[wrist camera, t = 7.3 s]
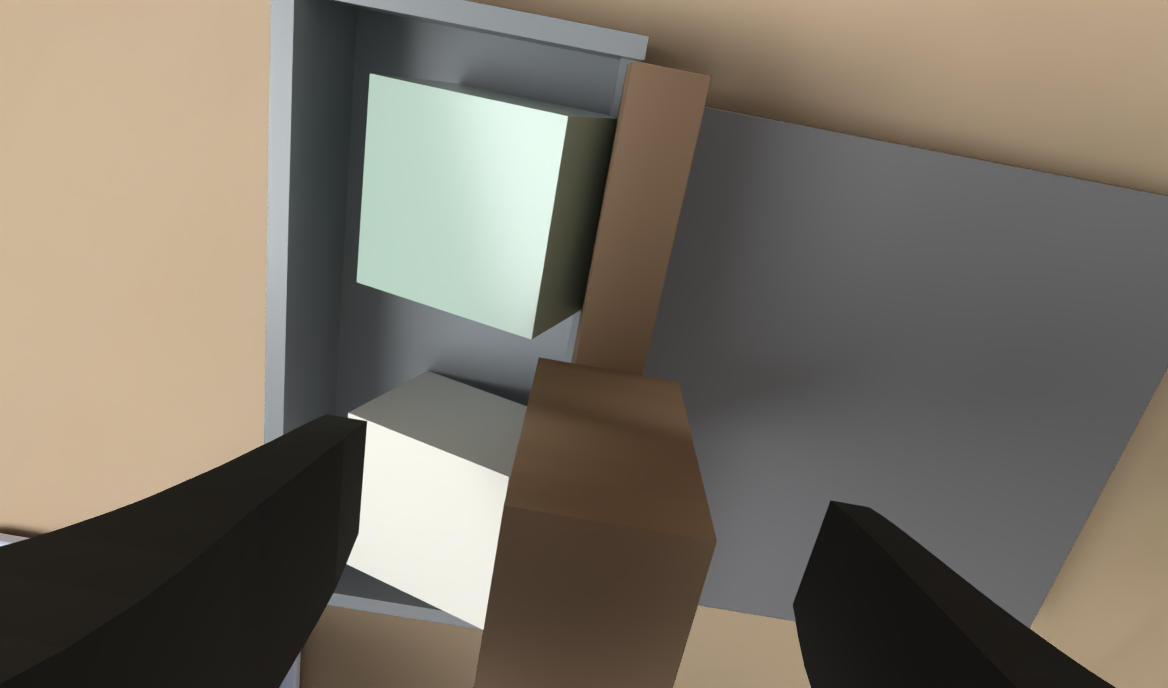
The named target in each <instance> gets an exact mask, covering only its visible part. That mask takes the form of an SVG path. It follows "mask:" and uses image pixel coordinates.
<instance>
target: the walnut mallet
mask: <svg viewBox="0 0 1168 688" xmlns="http://www.w3.org/2000/svg"><path fill="white" fill-rule="evenodd" d="M711 77H712V76H710V75H705V74H700V73H695V72H689V71H684V70H679V69H674V68H669V67H664V66H659V65H654V64H648V63H643V62H638V61H632V62H630V63H628V64H627V68H626V74H625V79H624V84H623V90H622V95H621V100H620V106H619V111H618V116H617V121H616V127H615V132H614V137H613V143H612V148H611V153H610V159H609V164H608V169H607V175H606V180H605V185H604V190H603V196H602V201H601V206H600V212H599V217H598V222H597V228H596V233H595V238H594V243H593V249H592V254H591V259H590V265H589V270H588V275H587V281H586V286H585V291H584V297H583V302H582V307H581V312H580V318H579V323H578V328H577V334H576V339H575V344H574V350H573V355H572V360H571V363H569V362H563V361H558V360H552V359H546V358H541V357H539V359H538V363H537V367H536V371H535V375H534V380H533V384H532V388H531V392H530V397H529V401H528V405H527V409H526V413H525V418H524V422H523V426H522V430H521V435H520V439H519V443H518V447H517V451H516V456H515V460H514V464H513V468H512V473H511V477H510V481H509V485H508V489H507V494H506V498H505V502H504V507H503V513H502V519H501V525H500V531H499V537H498V544H497V550H496V556H495V562H494V568H493V574H492V580H491V586H490V592H489V599H488V605H487V611H486V617H485V623H484V629H483V635H482V641H481V648H480V654H479V660H478V666H477V672H476V678H475V684H474V688H673V685H674V682H675V679H676V675H677V672H678V669H679V666H680V662H681V659H682V656H683V652H684V649H685V646H686V642H687V639H688V636H689V632H690V629H691V626H692V623H693V619H694V616H695V613H696V609H697V606H698V603H699V599H700V596H701V593H702V590H703V586H704V583H705V580H706V576H707V573H708V570H709V566H710V563H711V560H712V556H713V553H714V550H715V547H716V543H717V539H716V535H715V531H714V527H713V523H712V518H711V514H710V510H709V506H708V502H707V498H706V493H705V489H704V485H703V481H702V477H701V473H700V469H699V464H698V460H697V456H696V452H695V448H694V444H693V440H692V435H691V431H690V427H689V423H688V419H687V415H686V411H685V406H684V402H683V398H682V394H681V390H680V386H679V382H676V381H670V380H664V379H659V378H653V377H648V376H643V371H644V367H645V363H646V358H647V354H648V350H649V345H650V341H651V337H652V332H653V328H654V324H655V319H656V315H657V311H658V306H659V302H660V298H661V293H662V289H663V285H664V280H665V276H666V272H667V267H668V263H669V259H670V254H671V250H672V246H673V241H674V237H675V233H676V228H677V224H678V220H679V215H680V211H681V207H682V202H683V198H684V194H685V189H686V185H687V181H688V176H689V172H690V168H691V163H692V159H693V155H694V150H695V146H696V142H697V137H698V133H699V129H700V124H701V120H702V116H703V111H704V107H705V103H706V98H707V94H708V90H709V85H710V81H711Z"/></svg>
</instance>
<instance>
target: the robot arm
mask: <svg viewBox="0 0 1168 688" xmlns="http://www.w3.org/2000/svg"><path fill="white" fill-rule="evenodd" d="M366 430H367V421H364V420H358V419H352V418H346V417H340V416H334V415H329V414H326V415H324V416H322V417H319V418H317V419H315V420H312V421H310V422H308V423H306V424H304V425H302V426H300V427H298V428H296V429H294V430H292V431H290V432H288V433H286V434H284V435H282V436H280V437H278V438H276V439H274V440H272V441H270V442H268V443H266V444H264V445H262V446H260V447H258V448H256V449H254V450H252V451H250V452H248V453H246V454H244V455H242V456H240V457H238V458H236V459H233V460H231V461H229V462H227V463H225V464H223V465H221V466H219V467H217V468H214V469H212V470H210V471H208V472H205V473H203V474H201V475H198V476H196V477H194V478H192V479H189V480H187V481H185V482H182V483H180V484H178V485H176V486H173V487H171V488H169V489H166V490H164V491H162V492H160V493H157V494H155V495H153V496H150V497H148V498H145V499H143V500H140V501H138V502H135V503H133V504H130V505H127V506H125V507H122V508H119V509H117V510H114V511H111V512H109V513H106V514H103V515H100V516H97V517H94V518H91V519H88V520H85V521H82V522H80V523H77V524H74V525H71V526H68V527H65V528H62V529H59V530H56V531H53V532H49V533H46V534H43V535H39V536H36V537H32V538H27V537H21V536H15V535H8V534H2V533H0V688H299V682H300V658H301V649H302V648H303V646H304V644H305V642H306V641H307V639H308V637H309V636H310V634H311V632H312V630H313V629H314V627H315V625H316V623H317V622H318V620H319V618H320V616H321V615H322V613H323V611H324V609H325V607H326V606H327V604H328V602H329V600H330V599H331V597H332V595H333V593H334V591H335V589H336V587H337V585H338V582H339V580H340V578H341V575H342V573H343V571H344V568H345V566H346V563H347V561H348V558H349V556H350V554H351V551H352V549H353V546H354V544H355V541H356V539H357V536H358V534H359V523H360V510H361V496H362V483H363V470H364V457H365V444H366ZM793 610H794V615H795V621H796V626H797V632H798V638H799V642H800V647H801V652H802V657H803V661H804V666H805V669H806V672H807V675H808V679H809V682H810V685H811V688H1115V687H1114V686H1112V685H1111V684H1109V683H1108V682H1106V681H1104V680H1103V679H1101V678H1100V677H1098V676H1097V675H1095V674H1094V673H1092V672H1090V671H1089V670H1088V669H1086V668H1085V667H1083V666H1082V665H1080V664H1079V663H1077V662H1076V661H1074V660H1073V659H1071V658H1070V657H1068V656H1067V655H1066V654H1064V653H1063V652H1061V651H1060V650H1058V649H1057V648H1056V647H1054V646H1053V645H1052V644H1050V643H1049V642H1047V641H1046V640H1045V639H1043V638H1042V637H1040V636H1039V635H1038V634H1036V633H1035V632H1034V631H1032V630H1031V629H1029V628H1028V627H1027V626H1025V625H1024V624H1022V623H1021V622H1020V621H1018V620H1017V619H1016V618H1014V617H1013V616H1012V615H1010V614H1009V613H1008V612H1006V611H1005V610H1004V609H1002V608H1001V607H1000V606H998V605H997V604H996V603H994V602H993V601H992V600H991V599H989V598H988V597H987V596H985V595H984V594H983V593H981V592H980V591H979V590H978V589H976V588H975V587H974V586H973V585H971V584H970V583H969V582H967V581H966V580H965V579H964V578H962V577H961V576H960V575H959V574H957V573H956V572H955V571H953V570H952V569H951V568H950V567H948V566H947V565H946V564H945V563H943V562H942V561H941V560H940V559H938V558H937V557H936V556H935V555H933V554H932V553H931V552H930V551H928V550H927V549H926V548H924V547H923V546H922V545H921V544H919V543H918V542H917V541H916V540H914V539H913V538H912V537H910V536H909V535H908V534H907V533H905V532H904V531H903V530H901V529H900V528H899V527H897V526H896V525H895V524H893V523H892V522H891V521H889V520H888V519H886V518H885V517H884V516H882V515H881V514H879V513H878V512H876V511H874V510H873V509H871V508H870V507H866V506H860V505H854V504H848V503H843V502H837V501H831V500H830V503H829V506H828V508H827V511H826V514H825V517H824V520H823V522H822V525H821V528H820V531H819V533H818V536H817V539H816V542H815V544H814V547H813V550H812V553H811V555H810V558H809V561H808V564H807V566H806V569H805V572H804V575H803V577H802V580H801V583H800V586H799V588H798V591H797V594H796V597H795V599H794V602H793Z"/></svg>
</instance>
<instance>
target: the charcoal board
mask: <svg viewBox="0 0 1168 688" xmlns="http://www.w3.org/2000/svg"><path fill="white" fill-rule="evenodd" d="M1167 368H1168V196H1167V195H1162V194H1157V193H1152V192H1147V191H1141V190H1136V189H1131V188H1126V187H1121V186H1116V185H1110V184H1105V183H1100V182H1095V181H1090V180H1084V179H1079V178H1074V177H1069V176H1064V175H1059V174H1053V173H1048V172H1043V171H1038V170H1033V169H1028V168H1022V167H1017V166H1012V165H1007V164H1002V163H997V162H991V161H986V160H981V159H976V158H971V157H965V156H960V155H955V154H950V153H945V152H940V151H934V150H929V149H924V148H919V147H914V146H909V145H903V144H898V143H893V142H888V141H883V140H878V139H872V138H867V137H862V136H857V135H852V134H846V133H841V132H836V131H831V130H826V129H821V128H815V127H810V126H805V125H800V124H795V123H790V122H784V121H779V120H774V119H769V118H764V117H758V116H753V115H748V114H743V113H738V112H733V111H727V110H722V109H717V108H712V107H707V106H705V107H704V111H703V116H702V120H701V124H700V129H699V133H698V137H697V142H696V146H695V150H694V155H693V159H692V163H691V168H690V172H689V176H688V181H687V185H686V189H685V194H684V198H683V202H682V207H681V211H680V215H679V220H678V224H677V228H676V233H675V237H674V241H673V246H672V250H671V254H670V259H669V263H668V267H667V272H666V276H665V280H664V285H663V289H662V293H661V298H660V302H659V306H658V311H657V315H656V319H655V324H654V328H653V332H652V337H651V341H650V345H649V350H648V354H647V358H646V363H645V367H644V371H643V376H648V377H653V378H659V379H664V380H670V381H676V382H679V386H680V390H681V394H682V398H683V402H684V406H685V411H686V415H687V419H688V423H689V427H690V431H691V435H692V440H693V444H694V448H695V452H696V456H697V460H698V464H699V469H700V473H701V477H702V481H703V485H704V489H705V493H706V498H707V502H708V506H709V510H710V514H711V518H712V523H713V527H714V531H715V535H716V539H717V543H716V547H715V550H714V553H713V556H712V560H711V563H710V566H709V570H708V573H707V576H706V580H705V583H704V586H703V590H702V593H701V596H700V599H699V603H698V605H700V606H706V607H712V608H718V609H724V610H730V611H736V612H742V613H748V614H754V615H760V616H766V617H772V618H778V619H784V620H791V621H795V615H794V610H793V602H794V599H795V597H796V594H797V591H798V588H799V586H800V583H801V580H802V577H803V575H804V572H805V569H806V566H807V564H808V561H809V558H810V555H811V553H812V550H813V547H814V544H815V542H816V539H817V536H818V533H819V531H820V528H821V525H822V522H823V520H824V517H825V514H826V511H827V508H828V506H829V503H830V500H831V501H837V502H843V503H848V504H854V505H860V506H866V507H870V508H871V509H873V510H874V511H876V512H878V513H879V514H881V515H882V516H884V517H885V518H886V519H888V520H889V521H891V522H892V523H893V524H895V525H896V526H897V527H899V528H900V529H901V530H903V531H904V532H905V533H907V534H908V535H909V536H910V537H912V538H913V539H914V540H916V541H917V542H918V543H919V544H921V545H922V546H923V547H924V548H926V549H927V550H928V551H930V552H931V553H932V554H933V555H935V556H936V557H937V558H938V559H940V560H941V561H942V562H943V563H945V564H946V565H947V566H948V567H950V568H951V569H952V570H953V571H955V572H956V573H957V574H959V575H960V576H961V577H962V578H964V579H965V580H966V581H967V582H969V583H970V584H971V585H973V586H974V587H975V588H976V589H978V590H979V591H980V592H981V593H983V594H984V595H985V596H987V597H988V598H989V599H991V600H992V601H993V602H994V603H996V604H997V605H998V606H1000V607H1001V608H1002V609H1004V610H1005V611H1006V612H1008V613H1009V614H1010V615H1012V616H1013V617H1014V618H1016V619H1017V620H1018V621H1020V622H1021V623H1022V624H1024V625H1025V626H1027V627H1028V628H1030V626H1031V624H1032V622H1033V621H1034V619H1035V617H1036V615H1037V613H1038V611H1039V609H1040V607H1041V605H1042V604H1043V602H1044V600H1045V598H1046V596H1047V594H1048V592H1049V590H1050V588H1051V587H1052V585H1053V583H1054V581H1055V579H1056V577H1057V575H1058V573H1059V571H1060V570H1061V568H1062V566H1063V564H1064V562H1065V560H1066V558H1067V556H1068V554H1069V553H1070V551H1071V549H1072V547H1073V545H1074V543H1075V541H1076V539H1077V538H1078V536H1079V534H1080V532H1081V530H1082V528H1083V526H1084V524H1085V522H1086V521H1087V519H1088V517H1089V515H1090V513H1091V511H1092V509H1093V507H1094V505H1095V504H1096V502H1097V500H1098V498H1099V496H1100V494H1101V492H1102V490H1103V488H1104V487H1105V485H1106V483H1107V481H1108V479H1109V477H1110V475H1111V473H1112V471H1113V470H1114V468H1115V466H1116V464H1117V462H1118V460H1119V458H1120V456H1121V454H1122V453H1123V451H1124V449H1125V447H1126V445H1127V443H1128V441H1129V439H1130V437H1131V436H1132V434H1133V432H1134V430H1135V428H1136V426H1137V424H1138V422H1139V420H1140V419H1141V417H1142V415H1143V413H1144V411H1145V409H1146V407H1147V405H1148V403H1149V402H1150V400H1151V398H1152V396H1153V394H1154V392H1155V390H1156V388H1157V386H1158V385H1159V383H1160V381H1161V379H1162V377H1163V375H1164V373H1165V371H1166V369H1167Z"/></svg>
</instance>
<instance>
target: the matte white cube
mask: <svg viewBox="0 0 1168 688" xmlns="http://www.w3.org/2000/svg"><path fill="white" fill-rule="evenodd" d="M526 409H527V406H524V405H522V404H519V403H516V402H513V401H511V400H508V399H505V398H502V397H499V396H497V395H494V394H491V393H488V392H486V391H483V390H480V389H477V388H475V387H472V386H469V385H466V384H464V383H461V382H458V381H455V380H452V379H450V378H447V377H444V376H441V375H439V374H436V373H433V372H430V371H426V372H424V373H422V374H420V375H419V376H417V377H415V378H413V379H411V380H409V381H407V382H405V383H403V384H402V385H400V386H398V387H396V388H394V389H392V390H390V391H388V392H386V393H385V394H383V395H381V396H379V397H377V398H375V399H373V400H371V401H369V402H368V403H366V404H364V405H362V406H360V407H358V408H356V409H354V410H352V411H351V412H349V413H348V418H352V419H358V420H364V421H367V430H366V444H365V457H364V470H363V483H362V496H361V510H360V523H359V534H358V536H357V539H356V541H355V544H354V546H353V549H352V551H351V554H350V556H349V558H348V561H347V563H346V564H347V565H349V566H352V567H354V568H356V569H358V570H360V571H362V572H364V573H366V574H368V575H370V576H372V577H374V578H376V579H379V580H381V581H383V582H385V583H387V584H389V585H391V586H393V587H395V588H397V589H399V590H401V591H404V592H406V593H408V594H410V595H412V596H414V597H416V598H418V599H420V600H422V601H424V602H426V603H428V604H431V605H433V606H435V607H437V608H439V609H441V610H443V611H445V612H447V613H449V614H451V615H453V616H455V617H458V618H460V619H462V620H464V621H466V622H468V623H470V624H472V625H474V626H476V627H478V628H480V629H482V630H483V629H484V623H485V617H486V611H487V605H488V599H489V592H490V586H491V580H492V574H493V568H494V562H495V556H496V550H497V544H498V537H499V531H500V525H501V519H502V513H503V507H504V502H505V498H506V494H507V489H508V485H509V481H510V477H511V473H512V468H513V464H514V460H515V456H516V451H517V447H518V443H519V439H520V435H521V430H522V426H523V422H524V418H525V413H526Z"/></svg>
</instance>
